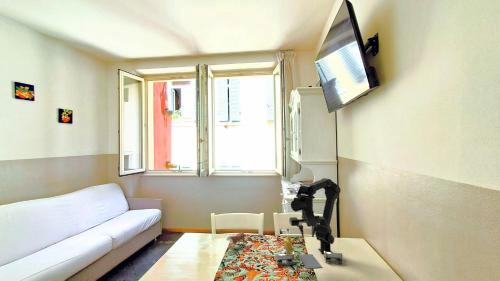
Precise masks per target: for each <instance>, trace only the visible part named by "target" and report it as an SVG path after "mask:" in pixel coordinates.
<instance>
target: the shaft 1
mask: <svg viewBox="0 0 500 281" xmlns="http://www.w3.org/2000/svg"><path fill="white" fill-rule="evenodd" d="M296 254H297V253H296V252H291V253H290V254H287V253H283V254H282V253H279V254H278V253H276V254H275V262H276V265H277V266H283V261H286V264H287V265H288V266H289V265H294V261H296V260H297V256H296Z"/></svg>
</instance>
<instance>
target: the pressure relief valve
mask: <svg viewBox="0 0 500 281" xmlns="http://www.w3.org/2000/svg"><path fill="white" fill-rule="evenodd" d="M292 244H294V239H293V238H292V237H291V235H288V234H287V235H286V237H284V239H283V246H284V249H283V250H282V251H279V252H277V254H291V253H293V251H294V249H295V248H294V247H293V246H292Z"/></svg>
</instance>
